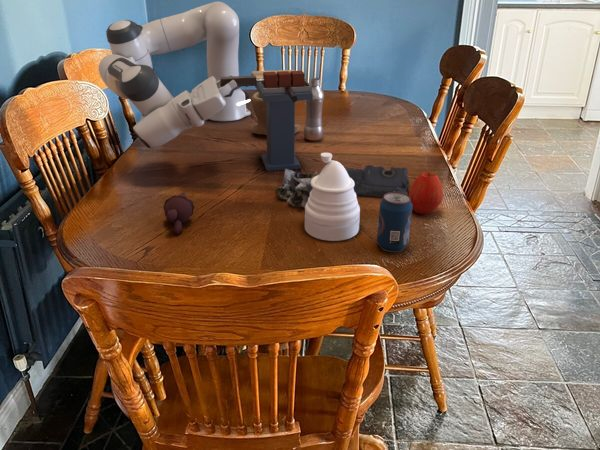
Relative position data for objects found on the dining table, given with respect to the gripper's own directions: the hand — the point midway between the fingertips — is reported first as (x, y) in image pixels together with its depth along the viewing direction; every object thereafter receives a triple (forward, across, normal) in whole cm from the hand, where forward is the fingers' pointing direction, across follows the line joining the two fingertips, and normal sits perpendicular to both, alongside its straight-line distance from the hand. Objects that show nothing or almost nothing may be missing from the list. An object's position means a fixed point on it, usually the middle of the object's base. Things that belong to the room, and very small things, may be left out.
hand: (234, 79), depth 150 cm
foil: (-2, +20, -30) cm, 36 cm away
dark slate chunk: (+16, +15, -40) cm, 46 cm away
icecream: (-28, +26, -15) cm, 42 cm away
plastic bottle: (+11, -24, -37) cm, 46 cm away
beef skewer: (+6, 0, -6) cm, 8 cm away
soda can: (+11, +48, -38) cm, 62 cm away
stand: (-2, -6, -30) cm, 30 cm away
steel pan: (+10, +5, -9) cm, 14 cm away
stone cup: (0, -31, -31) cm, 44 cm away
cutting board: (+10, -12, -9) cm, 18 cm away
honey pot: (+2, +37, -32) cm, 49 cm away
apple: (+24, +33, -45) cm, 60 cm away
